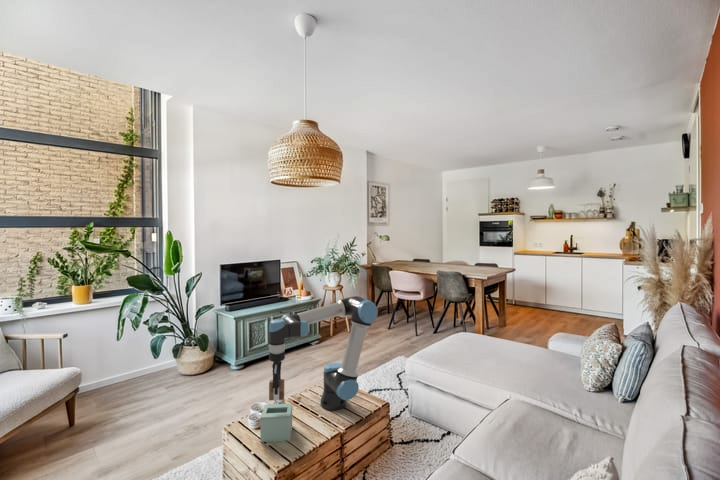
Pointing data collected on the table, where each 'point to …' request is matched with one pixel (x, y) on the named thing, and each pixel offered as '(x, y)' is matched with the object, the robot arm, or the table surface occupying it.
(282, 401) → the game die
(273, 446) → the table surface
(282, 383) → the brown rectangular block
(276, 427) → the box
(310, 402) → the table surface
